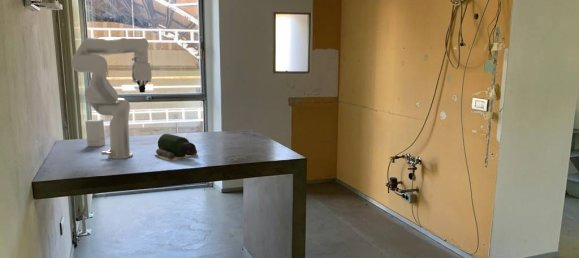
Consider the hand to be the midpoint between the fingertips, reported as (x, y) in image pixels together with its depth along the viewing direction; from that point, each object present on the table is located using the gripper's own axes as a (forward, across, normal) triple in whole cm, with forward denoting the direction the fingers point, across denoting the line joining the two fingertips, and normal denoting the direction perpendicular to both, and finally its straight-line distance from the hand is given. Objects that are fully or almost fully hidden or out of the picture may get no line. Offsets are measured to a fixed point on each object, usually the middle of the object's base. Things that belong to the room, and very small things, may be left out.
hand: (142, 92), depth 252 cm
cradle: (+33, +3, -31) cm, 45 cm away
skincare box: (+33, -18, +25) cm, 45 cm away
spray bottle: (+27, +2, -21) cm, 34 cm away
